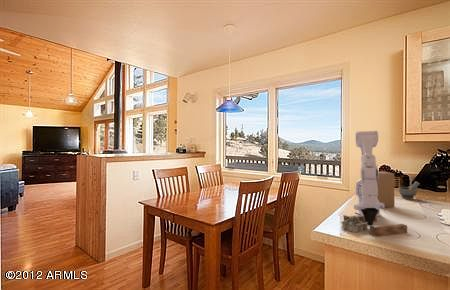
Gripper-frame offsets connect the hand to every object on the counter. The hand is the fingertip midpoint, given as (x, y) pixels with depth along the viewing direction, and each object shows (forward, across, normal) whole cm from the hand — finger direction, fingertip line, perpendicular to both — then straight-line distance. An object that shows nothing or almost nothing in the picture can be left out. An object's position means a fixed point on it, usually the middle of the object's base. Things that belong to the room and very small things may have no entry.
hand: (369, 224), depth 101 cm
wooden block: (+2, +38, +28) cm, 47 cm away
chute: (+1, +2, 0) cm, 3 cm away
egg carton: (+2, -6, +1) cm, 7 cm away
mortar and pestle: (+2, +70, +36) cm, 79 cm away
